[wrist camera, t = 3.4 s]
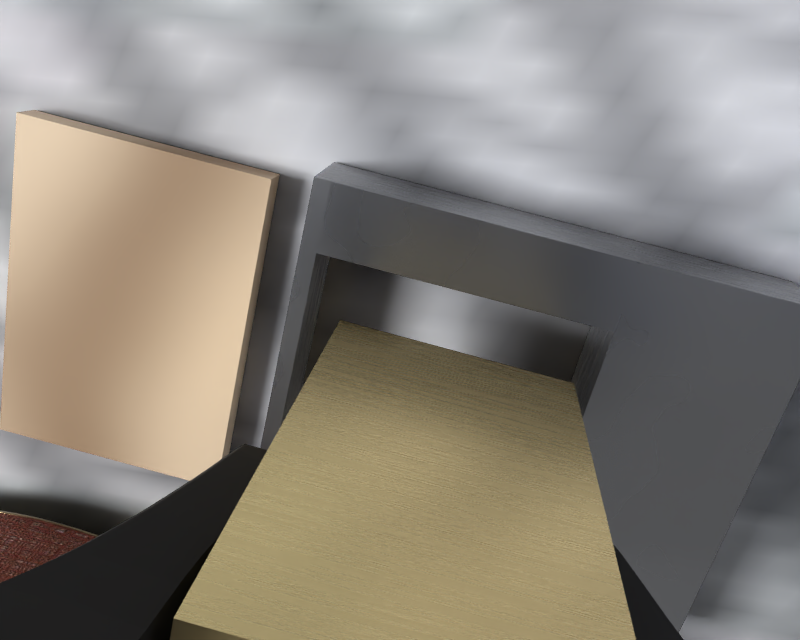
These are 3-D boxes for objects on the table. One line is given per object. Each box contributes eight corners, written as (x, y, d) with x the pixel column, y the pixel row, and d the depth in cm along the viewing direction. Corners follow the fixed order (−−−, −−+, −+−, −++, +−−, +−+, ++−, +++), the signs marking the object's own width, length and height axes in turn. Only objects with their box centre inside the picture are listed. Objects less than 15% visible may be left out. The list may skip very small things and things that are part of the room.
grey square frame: (791, 281, 14) (831, 312, 13) (644, 606, 17) (661, 667, 15) (334, 162, 15) (314, 177, 13) (264, 503, 17) (239, 551, 16)
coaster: (279, 174, 15) (270, 179, 14) (225, 473, 17) (216, 487, 17) (34, 110, 15) (16, 112, 14) (16, 416, 17) (-1, 429, 17)
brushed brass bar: (574, 383, 12) (664, 757, 6) (505, 573, 14) (516, 1044, 7) (340, 320, 13) (173, 618, 6) (295, 515, 14) (121, 928, 7)
